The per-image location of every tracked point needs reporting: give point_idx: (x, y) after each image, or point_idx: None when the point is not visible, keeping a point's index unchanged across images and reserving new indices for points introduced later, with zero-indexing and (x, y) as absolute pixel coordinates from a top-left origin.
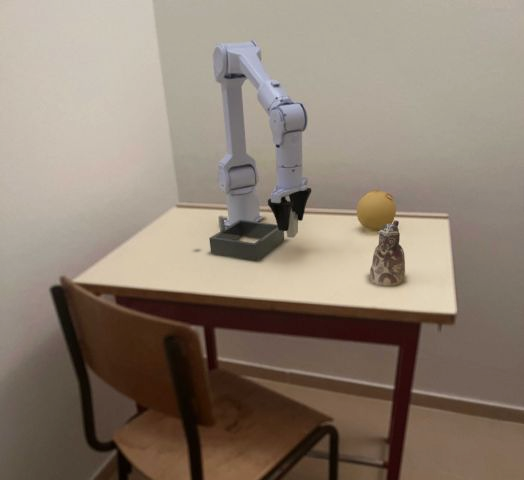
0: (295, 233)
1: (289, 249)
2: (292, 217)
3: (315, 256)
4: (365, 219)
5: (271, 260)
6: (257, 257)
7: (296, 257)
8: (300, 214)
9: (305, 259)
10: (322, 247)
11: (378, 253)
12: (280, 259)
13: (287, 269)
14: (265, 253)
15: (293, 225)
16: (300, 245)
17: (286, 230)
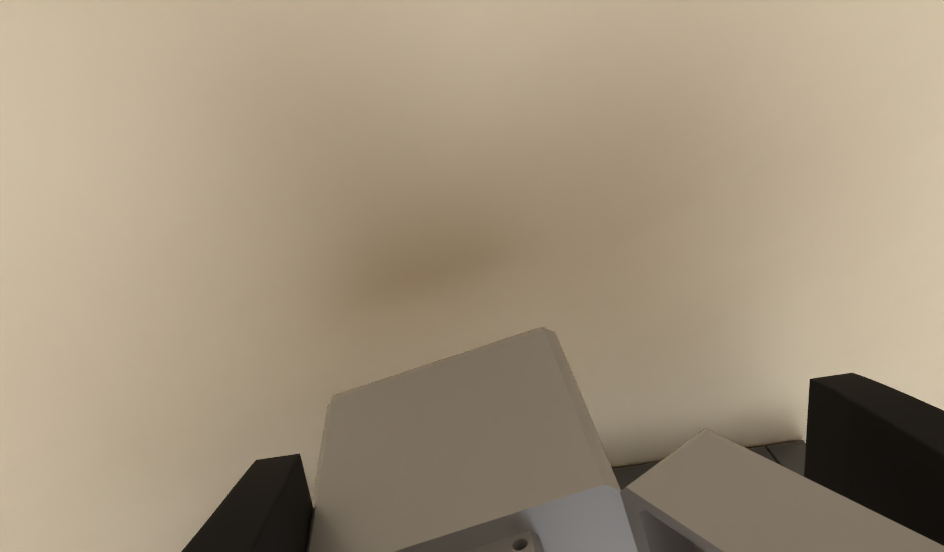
0: (473, 365)
1: (412, 360)
2: (720, 505)
3: (442, 4)
4: None
5: (734, 347)
6: (804, 459)
7: (566, 182)
8: (285, 541)
9: (573, 62)
10: (153, 81)
11: None
12: (680, 291)
13: (887, 86)
14: (642, 471)
15: (588, 423)
16: (255, 328)
17: (863, 381)
